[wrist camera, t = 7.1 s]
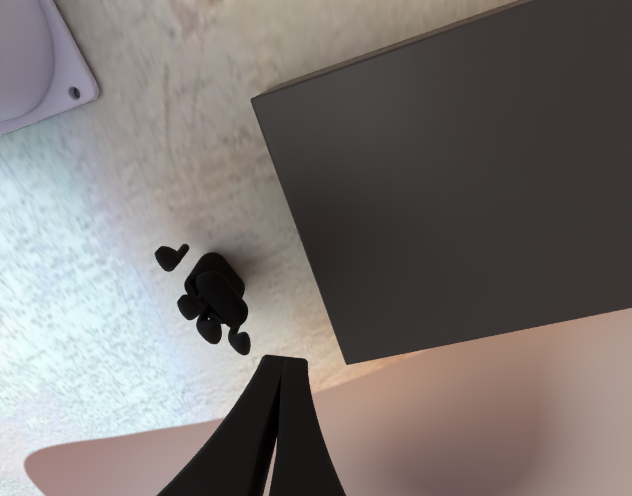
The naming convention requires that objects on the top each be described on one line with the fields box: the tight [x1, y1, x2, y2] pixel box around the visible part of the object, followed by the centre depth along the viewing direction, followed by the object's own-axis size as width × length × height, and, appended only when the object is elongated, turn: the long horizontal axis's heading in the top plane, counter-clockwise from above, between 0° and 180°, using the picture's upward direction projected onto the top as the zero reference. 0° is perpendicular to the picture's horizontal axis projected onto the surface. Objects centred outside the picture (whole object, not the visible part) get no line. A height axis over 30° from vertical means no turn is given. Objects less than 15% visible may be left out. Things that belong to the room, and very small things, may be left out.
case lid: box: [251, 0, 632, 365], centre depth 13 cm, size 11×12×1 cm
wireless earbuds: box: [155, 244, 251, 355], centre depth 19 cm, size 7×2×5 cm, turn 32°
